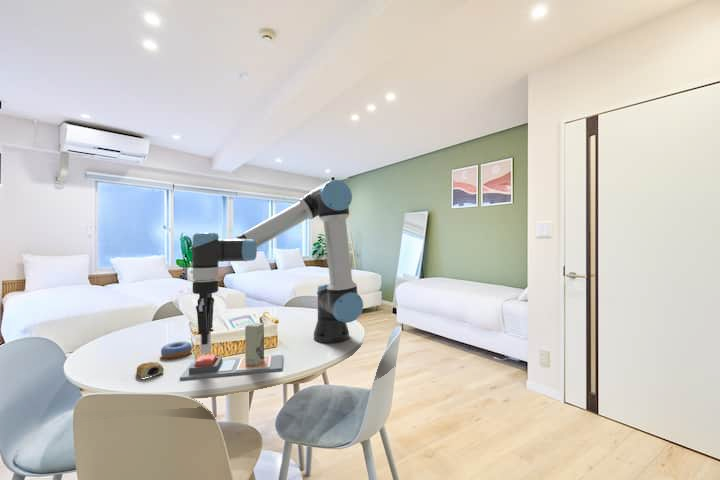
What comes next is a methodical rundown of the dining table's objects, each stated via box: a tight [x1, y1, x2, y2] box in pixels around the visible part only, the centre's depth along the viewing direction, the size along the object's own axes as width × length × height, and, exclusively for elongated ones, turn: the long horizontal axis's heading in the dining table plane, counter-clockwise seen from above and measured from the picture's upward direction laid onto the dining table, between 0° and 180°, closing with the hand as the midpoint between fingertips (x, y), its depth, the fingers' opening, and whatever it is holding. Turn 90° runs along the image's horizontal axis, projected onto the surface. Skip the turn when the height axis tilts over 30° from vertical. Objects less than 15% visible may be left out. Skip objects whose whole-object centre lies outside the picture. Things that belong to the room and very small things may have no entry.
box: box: [244, 322, 265, 366], centre depth 105 cm, size 5×4×13 cm
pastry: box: [136, 361, 165, 379], centre depth 100 cm, size 9×7×4 cm
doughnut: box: [160, 341, 193, 360], centre depth 116 cm, size 10×10×5 cm
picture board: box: [179, 354, 284, 381], centre depth 104 cm, size 30×12×3 cm, turn 103°
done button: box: [195, 354, 217, 366], centre depth 102 cm, size 5×5×2 cm
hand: (205, 353), depth 102 cm, fingers closed
